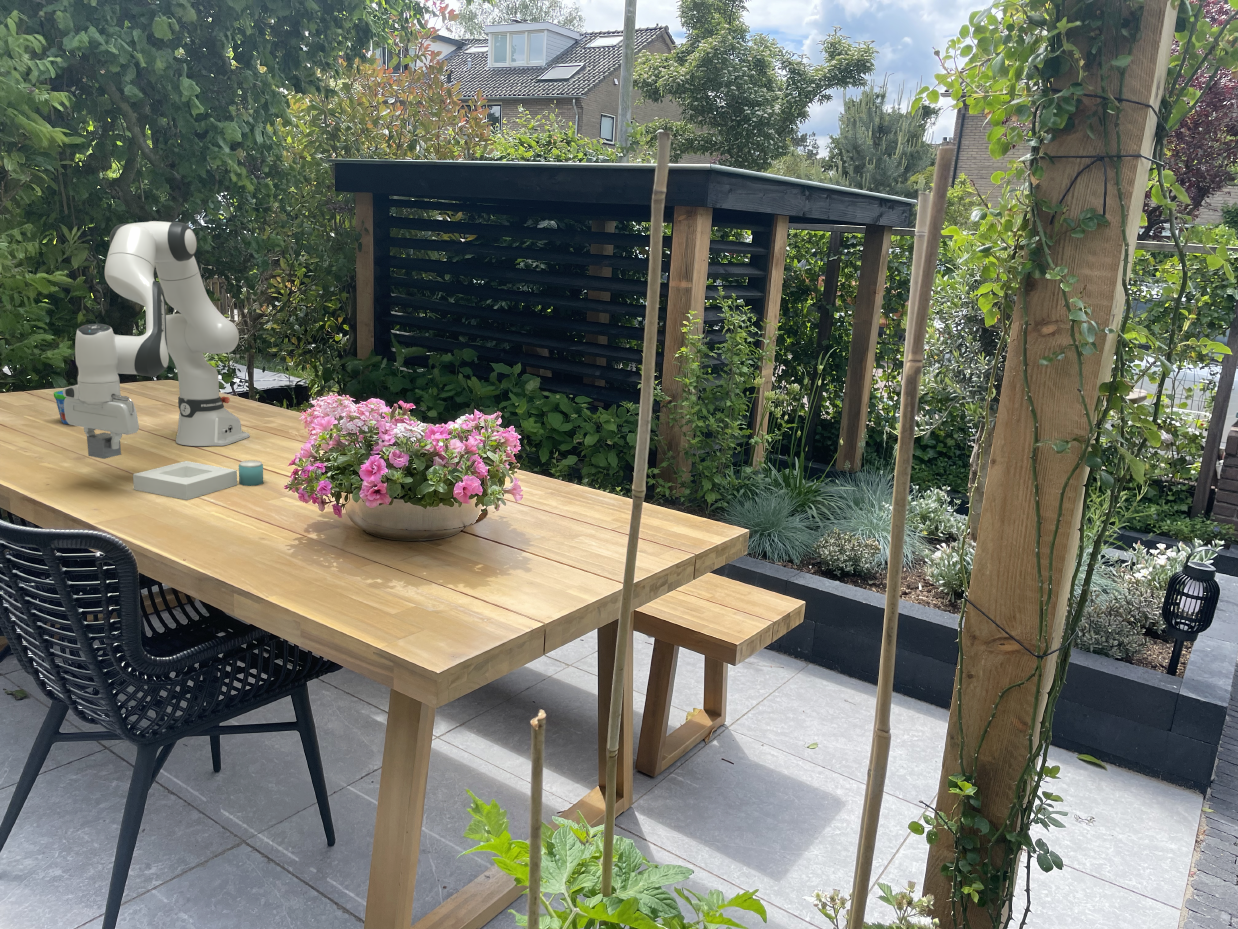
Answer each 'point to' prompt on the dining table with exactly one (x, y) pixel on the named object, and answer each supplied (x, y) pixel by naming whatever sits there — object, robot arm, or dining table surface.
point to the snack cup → (60, 405)
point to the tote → (185, 480)
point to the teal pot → (250, 473)
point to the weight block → (101, 446)
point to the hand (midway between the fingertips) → (104, 446)
